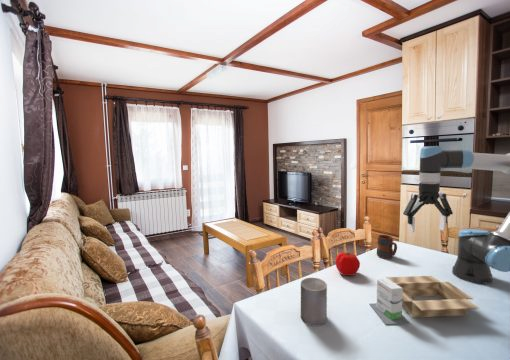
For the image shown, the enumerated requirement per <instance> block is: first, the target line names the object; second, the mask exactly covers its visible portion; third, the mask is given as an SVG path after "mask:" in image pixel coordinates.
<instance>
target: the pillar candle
mask: <svg viewBox="0 0 510 360" xmlns="http://www.w3.org/2000/svg"><path fill="white" fill-rule="evenodd" d="M327 295H328V284H327V283H326V281H325V280H323V279H321V278H317V277H306V278H304V279H302V280H301V282H300V318H301V320H302V322H304V323H305V324H307V325H309V326H315V327H316V326H322V325H323V324H325V323H326V322H327V319H328V318H327V315H328V314H327V313H328V311H327V309H328V308H327V307H328V304H327V303H328V302H327V301H328V296H327Z"/></svg>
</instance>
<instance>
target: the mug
mask: <svg viewBox="0 0 510 360" xmlns="http://www.w3.org/2000/svg"><path fill="white" fill-rule="evenodd" d="M393 240H394V238H393V237H392V235H391V236H390V235H389V234H388V235H387V234H380V235H377V247H376V256H377V257H378V256H379V257H378V258H381V259H384V258H385V260H389V259H392V258H393V257H394V256H395V255H396V254H397V249H398V245H397V243H396V242H394V241H393Z"/></svg>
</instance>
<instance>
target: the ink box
mask: <svg viewBox="0 0 510 360" xmlns="http://www.w3.org/2000/svg"><path fill="white" fill-rule="evenodd" d="M402 294H403V288H402V287H400V286H398V285H397V284H395V283H394V282H392V281H391V280H389V279H388V278H386V277H385V278H379V279H377V280H376V303H377V309H379V310H380V311H381V312H383V313H384V314H385V315H386V316H388V317H389V318H390V319H391V320H394V319H399V318H402V315H403V307H402Z"/></svg>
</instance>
